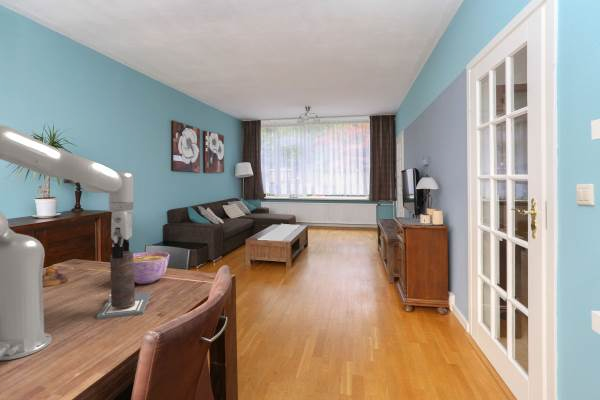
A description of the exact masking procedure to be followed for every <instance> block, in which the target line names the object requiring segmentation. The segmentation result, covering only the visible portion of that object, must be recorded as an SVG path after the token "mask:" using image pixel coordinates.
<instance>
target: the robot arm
mask: <svg viewBox="0 0 600 400" xmlns="http://www.w3.org/2000/svg"><path fill="white" fill-rule="evenodd" d="M0 160H2V161H5V162H7V163H9V164H12V165H16V166H19V167H21V168H24V169H26V170H29V171H31V172H34V173H36V174H37V173H38V174H40V175H43V176H46V177H50V178H54V179H55V178H56V179H62V180H69V181H73V182H76V183H79V186H80V187H81V189H83V190H85V192H88V193H93V194H108V213H109V212H111V221H110V222H111V223H110V226H111V227H110V233H111V234H110V235H111V236H110V237H111V241H112V245H111V248H112V249H111V252H112V253H111V255H112V258H113V259H117V258H123V251H124V252H126V251H130V239H131V238H132V236H133V223H132V219H133V218H132V212H134V175H133V174H132V172H123V171H116V170H114V169H112V168H110V167H108V166H105V165H103V164H101V163H99V162H96V161H93V160H91V159H89V158H85V157H82V156H79V155H77V154H74V153H72V152H68V151H65V150H61V149H59V148H57V147H55V146H52V145H50V144H48V143H45V142H43V141H40V140H39V139H37V138H35V137H32V136H31V135H28V134H25V133H23V132H21V131H19V130H17V129H14V128H12V127H10V126H7V125H3V124H0ZM44 262H45V248H44V245H43V244H42V243H41V242H40V240H39V239H37V238H36V237H33V236H30V235H27V234H21V233H16V232H15V231H14V230H12V229H11V228H10V227H9V220H8V218H7V217H6V215H5V214H4V213H3V212H2V211H0V361H8V360H16V359H20V358H24V357H27V356H30V355H33V354H35V353H37V352H39V351H41V350H43V349H45V348H47V346H49V345H50V344H51V343H52V340H53V338H52V335H51V334H50V333H47V332H45V317H44V316H45V315H44V314H45V313H44V311H45V310H44V289H43V288H44V287H42V276H43V269H44V264H45V263H44Z"/></svg>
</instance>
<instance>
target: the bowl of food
mask: <svg viewBox="0 0 600 400" xmlns="http://www.w3.org/2000/svg"><path fill="white" fill-rule="evenodd" d="M169 260H170V254H169V252H164V251H145V252H137V253H133V265H134V283H136V284H138V285H148V284H153V283H155V282H156V281H157V280H160V279H161V278H162V277H163V276H164V275H165V274H166V271H167V268H168V265H169Z"/></svg>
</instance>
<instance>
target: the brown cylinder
mask: <svg viewBox="0 0 600 400" xmlns="http://www.w3.org/2000/svg"><path fill="white" fill-rule="evenodd" d="M133 254H134V251H133V250H132V251H131V250H129V251H126V252H124V251H123V258H117V259H113V258H112V254H111V255H110V256H109V258H110V259H109V263H110V294H111V304H112V307H115V308H123V307H130V306H134V305H135V293H136V291H135V282H134V265H133Z"/></svg>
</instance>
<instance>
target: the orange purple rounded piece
mask: <svg viewBox="0 0 600 400" xmlns="http://www.w3.org/2000/svg"><path fill="white" fill-rule="evenodd" d="M45 270H46V271H45V273H44V274H42V288H50V287H55V286H56V287H57V286H60V285H62V284H65V283H67V282H68V281H69V277H68V276H67V275H65V274H64V273H59V268H58V267H57V266H49V267H46V269H45Z"/></svg>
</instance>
